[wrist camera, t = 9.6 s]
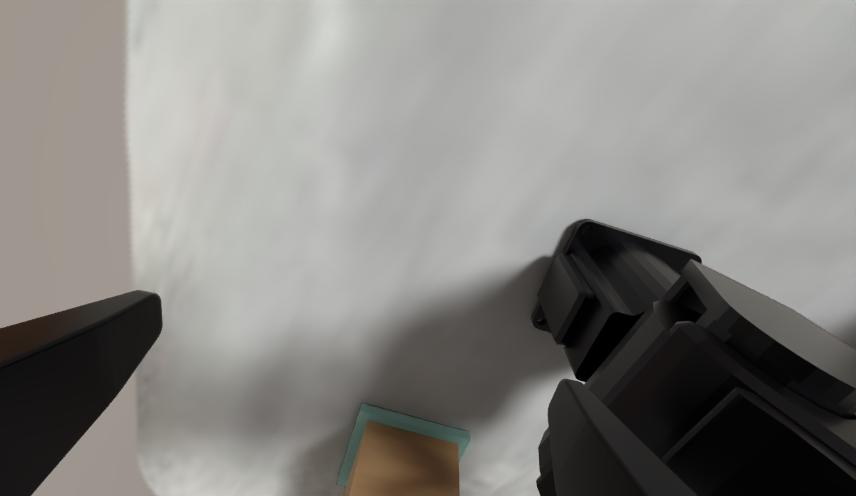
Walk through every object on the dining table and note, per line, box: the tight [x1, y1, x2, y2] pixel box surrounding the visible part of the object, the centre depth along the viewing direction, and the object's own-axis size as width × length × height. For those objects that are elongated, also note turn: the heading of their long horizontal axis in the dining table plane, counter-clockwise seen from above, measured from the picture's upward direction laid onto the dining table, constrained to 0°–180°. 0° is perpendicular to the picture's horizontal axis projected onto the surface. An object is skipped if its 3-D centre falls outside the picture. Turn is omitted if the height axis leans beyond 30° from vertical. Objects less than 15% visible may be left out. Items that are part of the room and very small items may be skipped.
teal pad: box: [336, 403, 470, 487], centre depth 27 cm, size 7×7×1 cm
